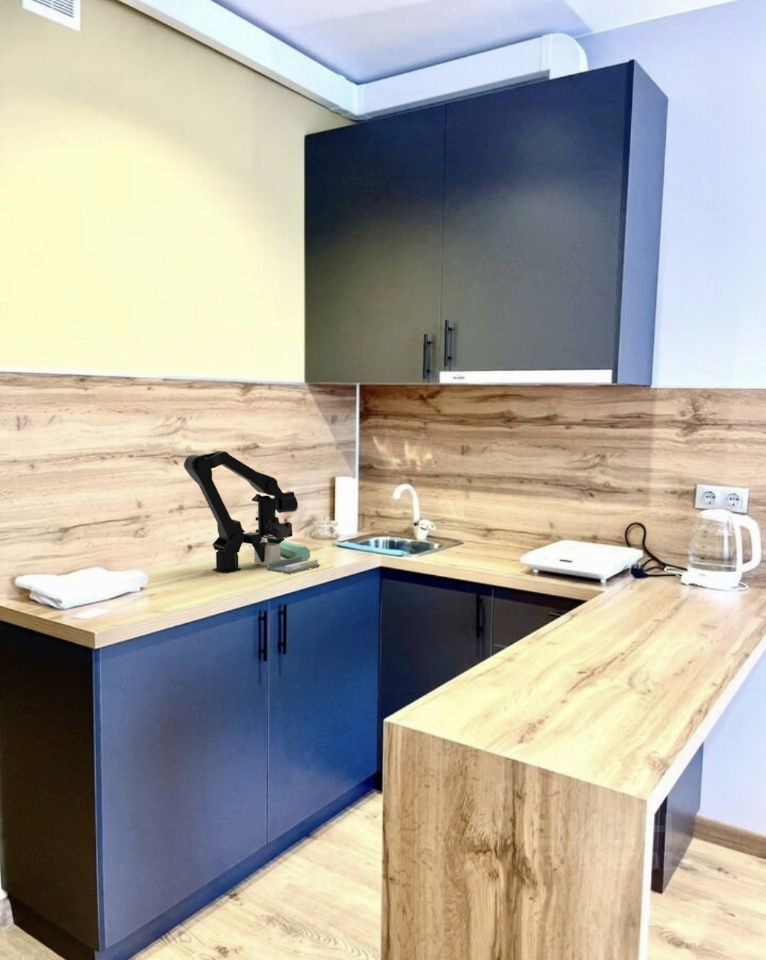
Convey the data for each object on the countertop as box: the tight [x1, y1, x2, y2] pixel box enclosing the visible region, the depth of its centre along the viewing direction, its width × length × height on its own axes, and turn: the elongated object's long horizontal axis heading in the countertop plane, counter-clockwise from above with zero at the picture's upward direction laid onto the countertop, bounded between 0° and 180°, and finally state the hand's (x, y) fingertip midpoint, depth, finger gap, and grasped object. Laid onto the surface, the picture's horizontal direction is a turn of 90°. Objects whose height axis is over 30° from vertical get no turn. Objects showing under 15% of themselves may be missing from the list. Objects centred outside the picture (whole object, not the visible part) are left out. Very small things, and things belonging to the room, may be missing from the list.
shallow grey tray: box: [266, 556, 321, 575], centre depth 244 cm, size 14×10×2 cm
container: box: [280, 540, 311, 561], centre depth 264 cm, size 6×6×25 cm
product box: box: [253, 541, 281, 567], centre depth 250 cm, size 4×8×7 cm, turn 53°
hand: (267, 560), depth 250 cm, fingers closed on product box, 4 cm apart
